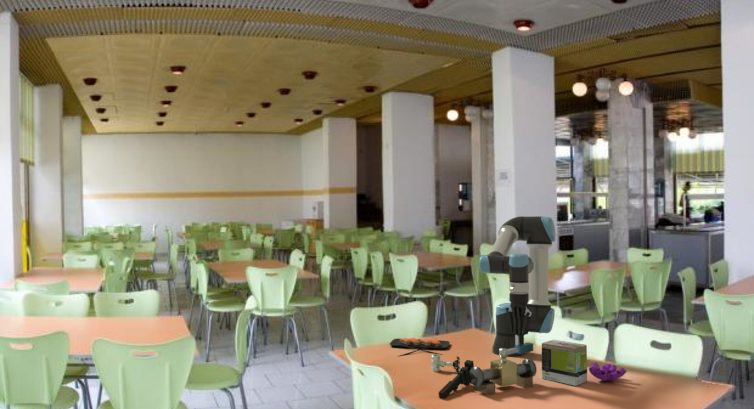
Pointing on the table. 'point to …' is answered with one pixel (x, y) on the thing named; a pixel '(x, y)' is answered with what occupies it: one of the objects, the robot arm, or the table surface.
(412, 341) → the sushi plate
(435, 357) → the valve
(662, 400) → the table surface
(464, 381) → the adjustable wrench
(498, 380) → the pipe run
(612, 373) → the purple lumpy cluster
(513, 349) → the lever
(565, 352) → the tea box
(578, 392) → the table surface
